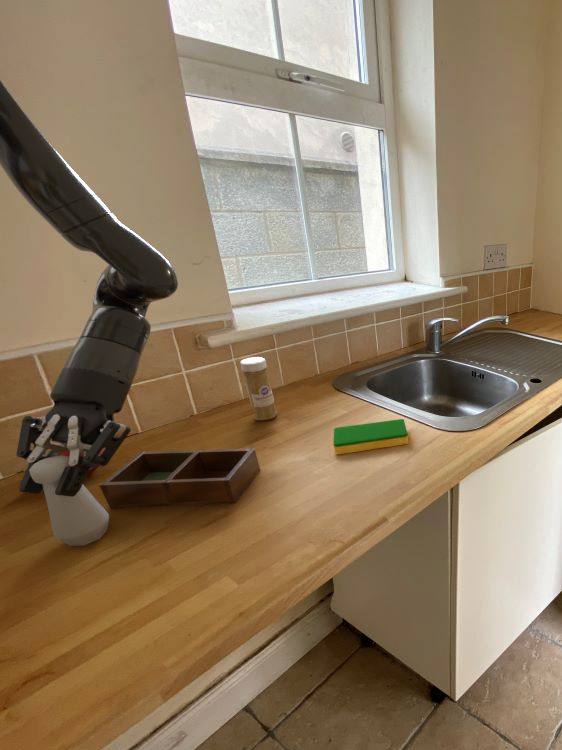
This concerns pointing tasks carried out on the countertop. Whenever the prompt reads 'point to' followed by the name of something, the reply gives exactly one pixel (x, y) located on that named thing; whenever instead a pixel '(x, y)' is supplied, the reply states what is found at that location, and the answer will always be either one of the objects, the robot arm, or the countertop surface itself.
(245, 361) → the sprinkles bottle
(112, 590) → the countertop surface
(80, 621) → the countertop surface
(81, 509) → the salt shaker
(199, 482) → the divided wooden tray
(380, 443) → the dish sponge
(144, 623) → the countertop surface
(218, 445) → the countertop surface
